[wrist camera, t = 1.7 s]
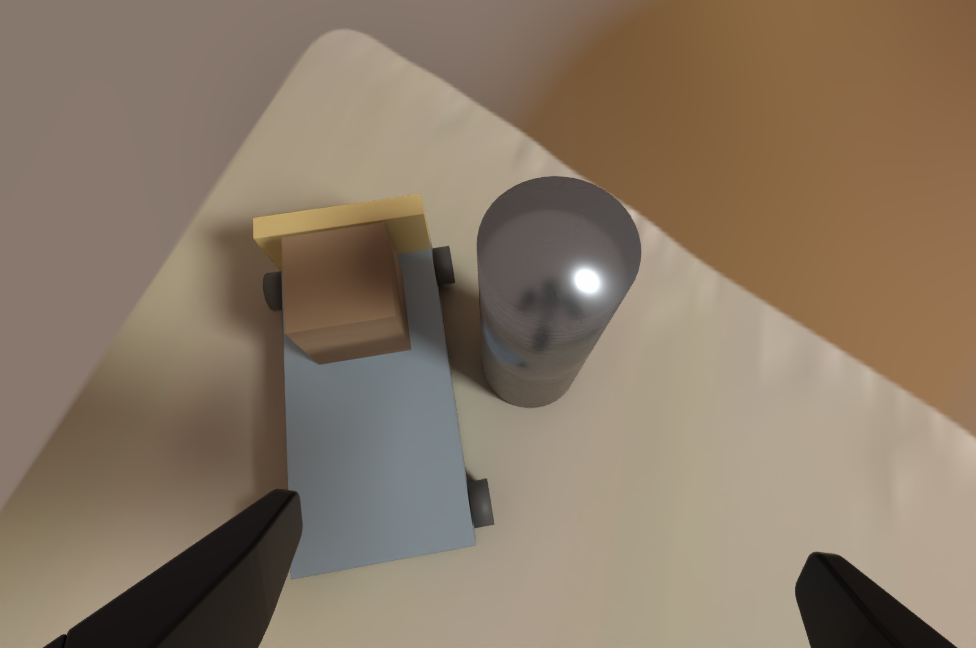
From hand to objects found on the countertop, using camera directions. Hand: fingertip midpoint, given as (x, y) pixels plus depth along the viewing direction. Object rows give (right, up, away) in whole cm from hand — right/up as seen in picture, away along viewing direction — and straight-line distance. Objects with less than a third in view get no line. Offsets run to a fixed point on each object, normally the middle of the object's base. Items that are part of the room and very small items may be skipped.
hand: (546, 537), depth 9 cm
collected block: (-7, +4, +14) cm, 16 cm away
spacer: (+1, +2, +15) cm, 15 cm away
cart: (-6, +1, +14) cm, 16 cm away
